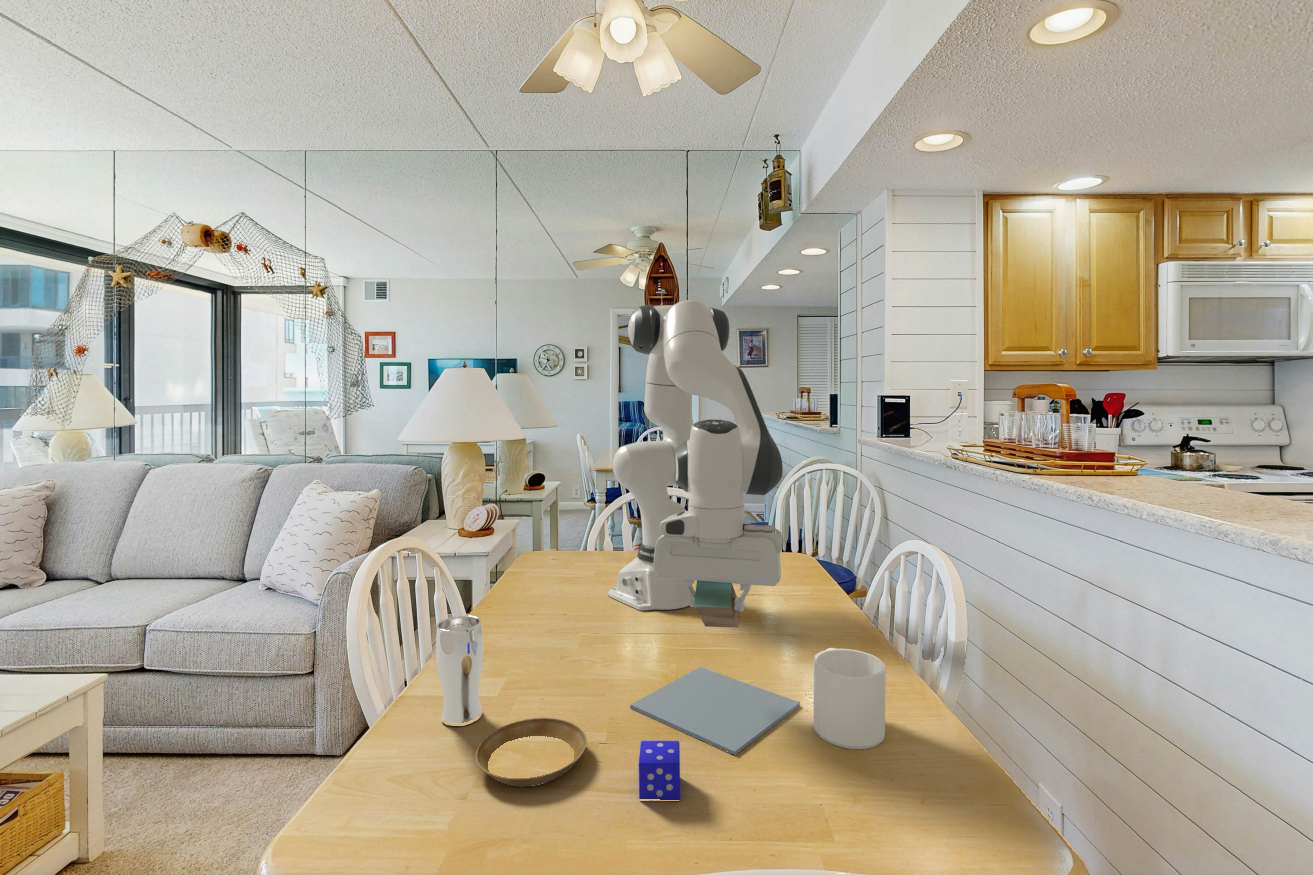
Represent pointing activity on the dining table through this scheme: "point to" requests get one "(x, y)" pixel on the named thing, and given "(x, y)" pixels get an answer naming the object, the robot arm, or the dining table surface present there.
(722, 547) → the robot arm
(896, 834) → the dining table surface
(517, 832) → the dining table surface
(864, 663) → the mug
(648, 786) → the die
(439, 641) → the silver metal tumbler
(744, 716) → the slate mat
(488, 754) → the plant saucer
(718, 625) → the green and brown block
